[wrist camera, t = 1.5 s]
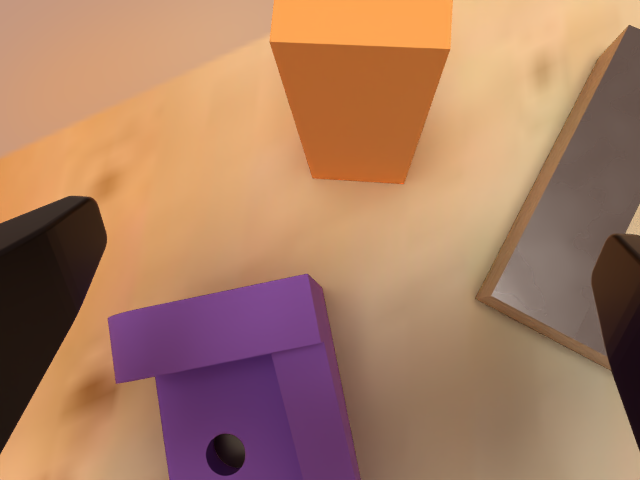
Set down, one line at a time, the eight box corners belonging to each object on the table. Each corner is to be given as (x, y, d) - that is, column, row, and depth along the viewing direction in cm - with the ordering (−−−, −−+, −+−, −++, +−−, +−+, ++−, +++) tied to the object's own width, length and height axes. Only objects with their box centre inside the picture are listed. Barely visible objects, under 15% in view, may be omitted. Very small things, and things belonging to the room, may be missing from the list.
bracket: (169, 319, 22) (87, 319, 15) (322, 288, 22) (307, 273, 15) (213, 619, 20) (140, 773, 13) (383, 588, 20) (397, 729, 13)
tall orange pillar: (403, 183, 22) (450, 49, 11) (312, 178, 22) (269, 41, 11) (409, 97, 22) (458, -113, 11) (320, 93, 23) (286, -115, 12)
